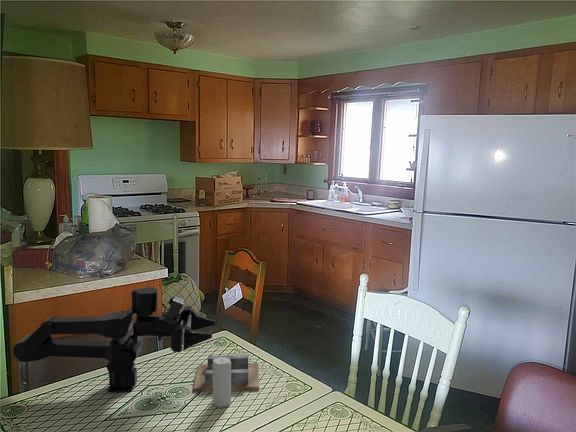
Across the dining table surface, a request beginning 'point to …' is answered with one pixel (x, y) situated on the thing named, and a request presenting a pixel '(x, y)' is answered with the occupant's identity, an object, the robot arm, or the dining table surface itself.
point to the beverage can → (221, 381)
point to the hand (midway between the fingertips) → (213, 329)
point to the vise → (241, 374)
